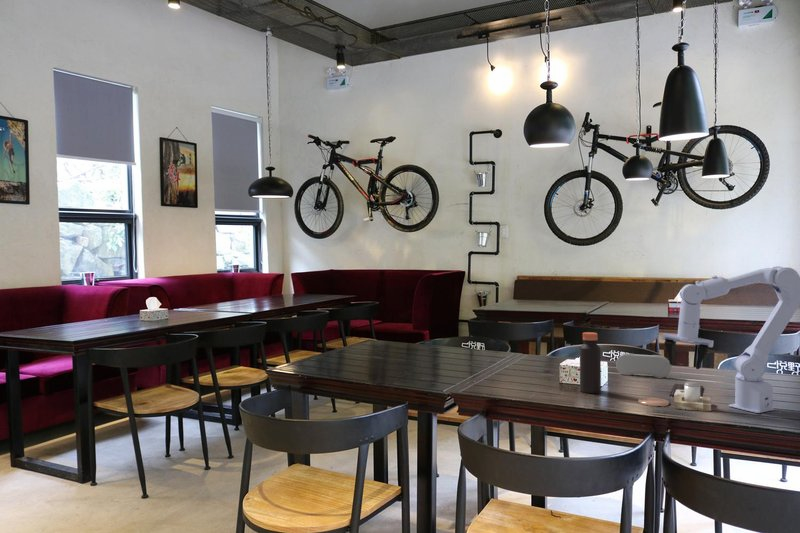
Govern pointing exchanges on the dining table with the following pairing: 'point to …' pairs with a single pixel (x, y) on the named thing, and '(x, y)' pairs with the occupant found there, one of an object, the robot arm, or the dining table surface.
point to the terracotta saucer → (653, 401)
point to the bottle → (590, 364)
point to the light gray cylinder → (691, 392)
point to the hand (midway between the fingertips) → (684, 366)
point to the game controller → (643, 365)
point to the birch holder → (692, 403)
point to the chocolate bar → (680, 390)
